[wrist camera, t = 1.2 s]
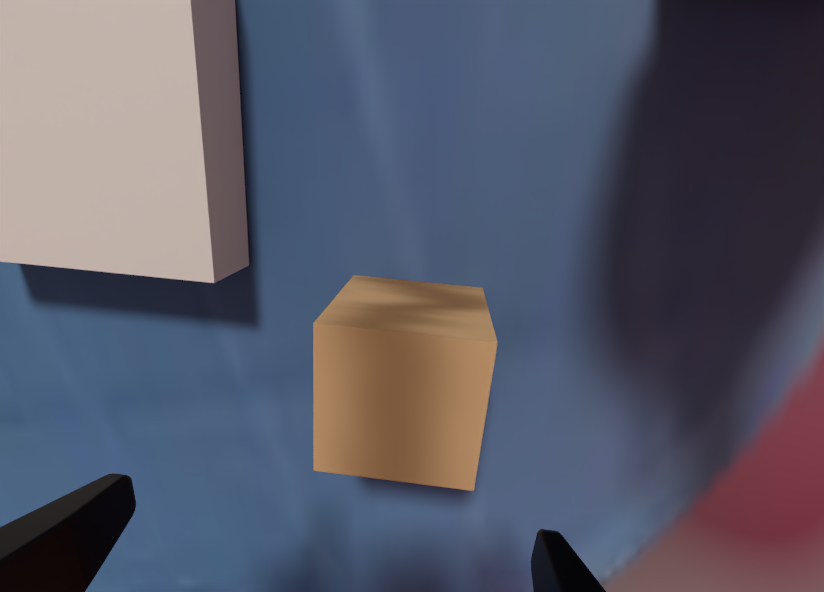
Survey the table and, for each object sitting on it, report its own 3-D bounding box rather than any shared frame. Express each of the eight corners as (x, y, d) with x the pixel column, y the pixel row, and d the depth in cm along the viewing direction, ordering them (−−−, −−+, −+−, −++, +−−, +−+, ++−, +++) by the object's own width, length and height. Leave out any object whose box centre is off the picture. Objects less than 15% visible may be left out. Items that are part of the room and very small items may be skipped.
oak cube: (482, 287, 18) (497, 342, 13) (466, 399, 20) (473, 490, 15) (354, 274, 19) (313, 323, 13) (350, 386, 21) (313, 470, 15)
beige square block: (232, -43, 15) (183, -91, 12) (249, 265, 19) (214, 283, 16) (-63, -60, 16) (-175, -109, 13) (11, 241, 20) (-63, 254, 17)
